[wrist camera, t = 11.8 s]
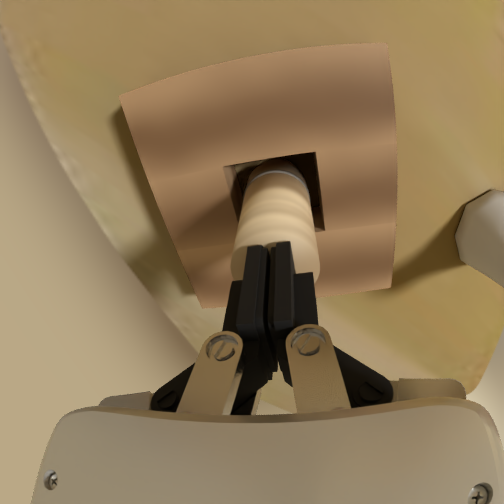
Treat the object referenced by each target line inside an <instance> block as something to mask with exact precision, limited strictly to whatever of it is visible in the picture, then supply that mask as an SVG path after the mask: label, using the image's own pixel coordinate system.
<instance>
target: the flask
mask: <svg viewBox="0 0 504 504" xmlns="http://www.w3.org/2000/svg"><path fill="white" fill-rule="evenodd" d="M455 239H456V243H457V247H458V252H459V256H460V260H461V261H463V262H464V263H466V264H468V265H469V266H471V267H473V268H474V269H476V270H478V271H479V272H481V273H483V274H485V275H486V276H488V277H489V278H491V279H492V280H493V281H495V282H496V283H498V284H499V285H501V286H502V287H504V192H502V191H498V190H494V189H493V190H491V191H490V192H488V193H486V194H484V195H483V196H481V197H479V198H477V199H476V200H474V201H472V202H470V203H469V204H467V205H466V207H465V210H464V213H463V216H462V218H461V221H460V224H459V226H458V229H457V232H456V234H455Z"/></svg>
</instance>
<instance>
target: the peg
mask: <svg viewBox="0 0 504 504" xmlns="http://www.w3.org/2000/svg"><path fill="white" fill-rule="evenodd" d="M286 241H290V243H291V248H292V254H293V260H294V266H295V272H296V274H298V273H306V272H313V277H314V284H315V282H316V281H317V279H318V276H319V273H320V262H319V255H318V248H317V242H316V236H315V229H314V223H313V217H312V211H311V206H310V195H309V191H308V188H307V184H306V180H305V177H304V175H303V173H302V172H301V171H300V170H299V169H298V168H297V167H296V166H294V165H293V164H292V163H291V162H289V161H288V160H285V159H282V158H271V159H268V160H266V161H264V162H263V163H262V164H260V165H259V166H257V167H256V168H255V169H254V170H253V171H252V173H251V174H250V176H249V178H248V182H247V186H246V189H245V192H244V196H243V205H242V210H241V215H240V219H239V224H238V229H237V234H236V239H235V244H234V248H233V253H232V258H231V265H230V268H231V274H232V277H233V279H234V281H236V280H243V274H244V267H245V260H246V254H247V248H248V246H255V245H262V246H263V248H268V251H269V255H270V260H271V247H276V243H278V242H286Z"/></svg>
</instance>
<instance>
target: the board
mask: <svg viewBox="0 0 504 504" xmlns="http://www.w3.org/2000/svg"><path fill="white" fill-rule="evenodd" d="M119 99H120V102H121V105H122V108H123V111H124V114H125V117H126V120H127V123H128V126H129V129H130V132H131V135H132V138H133V141H134V143H135V146H136V149H137V152H138V155H139V157H140V160H141V163H142V166H143V168H144V171H145V174H146V176H147V179H148V182H149V184H150V187H151V189H152V192H153V195H154V197H155V200H156V202H157V205H158V207H159V210H160V212H161V215H162V217H163V220H164V222H165V225H166V227H167V229H168V232H169V234H170V237H171V239H172V241H173V244H174V246H175V248H176V251H177V253H178V255H179V258H180V260H181V262H182V265H183V267H184V269H185V271H186V274H187V276H188V278H189V280H190V283H191V285H192V287H193V289H194V291H195V294H196V296H197V298H198V300H199V302H200V305H201V307H202V309H203V308H216V307H227V303H228V297H229V292H230V287H231V283H232V281H234V279H233V277H232V274H231V268H230V265H231V258H232V253H233V248H234V244H235V239H236V234H237V229H238V224H239V219H240V215H241V210H242V205H243V197H242V193H241V189H240V185H239V181H238V178H237V174H236V170H235V166H234V164H239V163H244V162H250V161H256V160H262V159H268V158H274V157H281V156H287V155H294V154H301V153H309V152H313V158H314V165H315V172H316V180H317V188H318V196H319V204H320V207H314V208H311V211H312V217H313V223H314V229H315V236H316V242H317V248H318V255H319V262H320V273H319V276H318V279H317V281H316V282H315V284H314V285H315V295H316V298H318V297H326V296H334V295H342V294H350V293H357V292H364V291H371V290H378V289H385V288H391V282H392V272H393V262H394V250H395V236H396V218H397V137H396V119H395V106H394V94H393V85H392V76H391V68H390V60H389V53H388V47H387V43H358V44H339V45H326V46H316V47H306V48H298V49H291V50H284V51H277V52H271V53H265V54H260V55H254V56H249V57H244V58H240V59H235V60H231V61H226V62H222V63H218V64H214V65H210V66H206V67H202V68H199V69H195V70H192V71H188V72H185V73H181V74H178V75H175V76H172V77H169V78H166V79H163V80H160V81H157V82H154V83H151V84H148V85H145V86H143V87H140V88H137V89H134V90H132V91H129V92H127V93H124V94H122V95H119Z"/></svg>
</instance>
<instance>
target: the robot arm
mask: <svg viewBox="0 0 504 504" xmlns="http://www.w3.org/2000/svg"><path fill="white" fill-rule="evenodd" d="M278 362H279V366H280V369H281V371H282V373H283V376H284V380H285V382H286V383H288V384H289V385H290V386H291V387H293V390H294V396H295V402H296V408H297V414H279V415H256V412H257V408H258V404H259V400H260V396H261V387H263V386H264V385H265V384H266V383H267V382H268V380H272V374H273V372H277V370H278ZM31 504H504V451H503V447H502V443H501V440H500V436H499V433H498V430H497V428H496V425H495V423H494V421H493V419H492V417H491V415H490V414H489V412H488V411H487V410H486V409H485V408H484V407H483V406H481V405H480V404H478V403H476V402H473V401H469V400H466V392H465V388H464V387H463V385H462V384H461V383H460V382H458V381H457V380H454V379H402V378H399V381H389V380H388V379H386V378H385V377H384V376H382V375H381V374H379V373H377V372H376V371H374V370H372V369H371V368H369V367H367V366H366V365H364V364H363V363H361V362H359V361H358V360H356V359H354V358H353V357H351V356H350V355H348V354H346V353H345V352H343V351H342V350H340V349H338V348H337V347H335V346H334V345H333V344H332V341H331V337H330V335H329V333H328V331H327V330H325V329H324V328H323V327H321V326H318V315H317V305H316V295H315V285H314V277H313V272H306V273H298V274H296V272H295V266H294V260H293V254H292V248H291V243H290V241H286V242H278V243H276V247H271V260H270V255H269V251H268V248H263V246H262V245H255V246H248V248H247V254H246V260H245V267H244V274H243V280H236V281H232V283H231V287H230V292H229V297H228V303H227V308H226V314H225V319H224V324H223V330H222V331H221V332H218V333H215V334H213V335H211V336H210V337H209V338H208V339H207V340H206V341H205V342H204V344H203V345H202V348H201V350H200V353H199V355H198V358H197V360H196V362H195V363H194V364H193V365H191V366H190V367H189V368H187V369H186V370H184V371H183V372H182V373H180V374H179V375H178V376H176V377H175V378H173V379H172V380H171V381H169V382H168V383H166V384H165V385H164V386H162V387H161V388H159V389H158V390H157V391H156V392H155V393H151V392H150V391H148V392H142V393H135V394H127V395H119V396H110V397H107V398H105V399H104V400H102V401H101V402H100V404H99V406H92V407H85V408H81V409H77V410H74V411H71V412H69V413H67V414H66V415H64V416H63V417H62V418H61V419H60V420H59V422H58V423H57V425H56V427H55V429H54V431H53V433H52V435H51V437H50V440H49V442H48V445H47V447H46V450H45V453H44V456H43V459H42V462H41V466H40V469H39V472H38V476H37V480H36V484H35V488H34V492H33V496H32V501H31Z"/></svg>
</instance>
